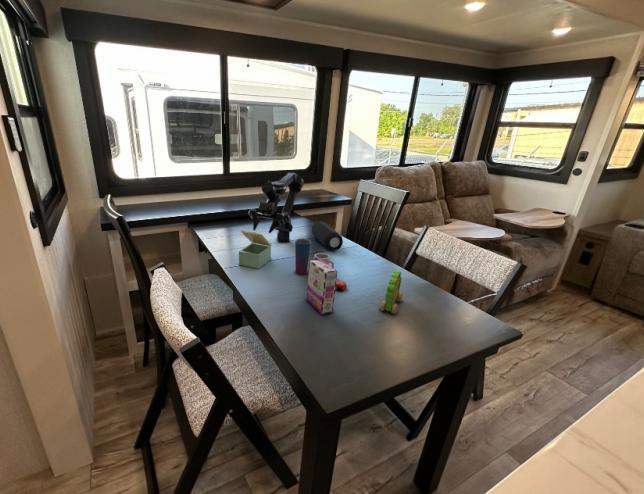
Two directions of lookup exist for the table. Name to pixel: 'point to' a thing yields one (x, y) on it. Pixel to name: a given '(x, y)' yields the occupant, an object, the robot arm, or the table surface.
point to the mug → (324, 258)
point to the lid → (256, 238)
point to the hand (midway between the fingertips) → (261, 231)
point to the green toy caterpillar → (393, 293)
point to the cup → (302, 255)
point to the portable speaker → (327, 236)
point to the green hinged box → (254, 255)
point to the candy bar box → (321, 286)
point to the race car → (340, 285)
